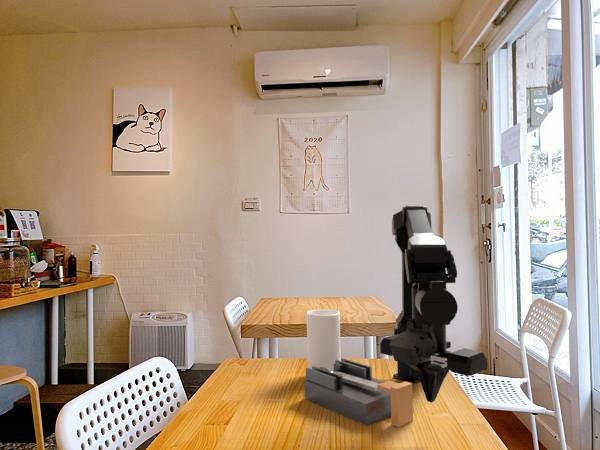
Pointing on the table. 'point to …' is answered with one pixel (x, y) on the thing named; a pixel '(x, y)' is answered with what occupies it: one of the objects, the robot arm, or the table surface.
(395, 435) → the table surface
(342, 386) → the slotted grey stand
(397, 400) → the tan piece
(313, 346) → the cup
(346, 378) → the strap
